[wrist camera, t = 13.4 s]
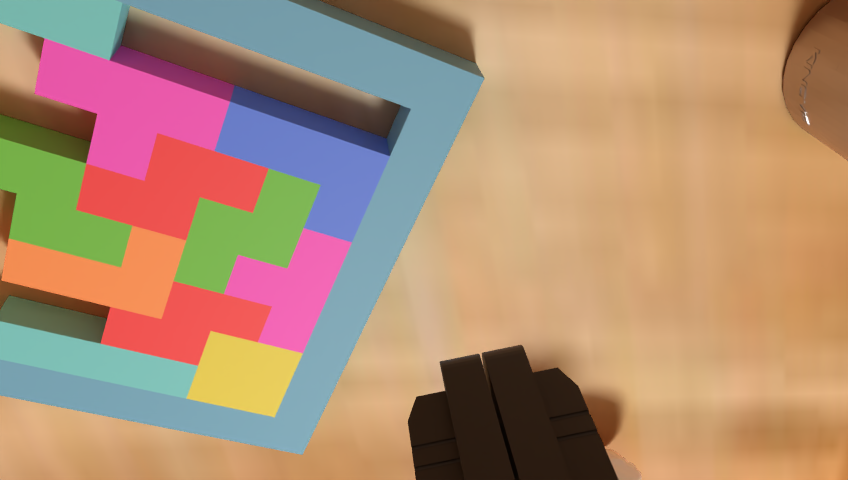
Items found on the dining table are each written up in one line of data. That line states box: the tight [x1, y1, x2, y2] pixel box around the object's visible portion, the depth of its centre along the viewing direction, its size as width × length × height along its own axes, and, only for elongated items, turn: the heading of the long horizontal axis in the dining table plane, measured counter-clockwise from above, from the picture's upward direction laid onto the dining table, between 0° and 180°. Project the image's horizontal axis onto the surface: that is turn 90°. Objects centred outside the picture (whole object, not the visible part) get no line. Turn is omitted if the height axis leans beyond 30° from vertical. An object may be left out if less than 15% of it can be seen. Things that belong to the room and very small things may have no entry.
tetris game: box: [0, 0, 484, 455], centre depth 39 cm, size 28×3×28 cm
